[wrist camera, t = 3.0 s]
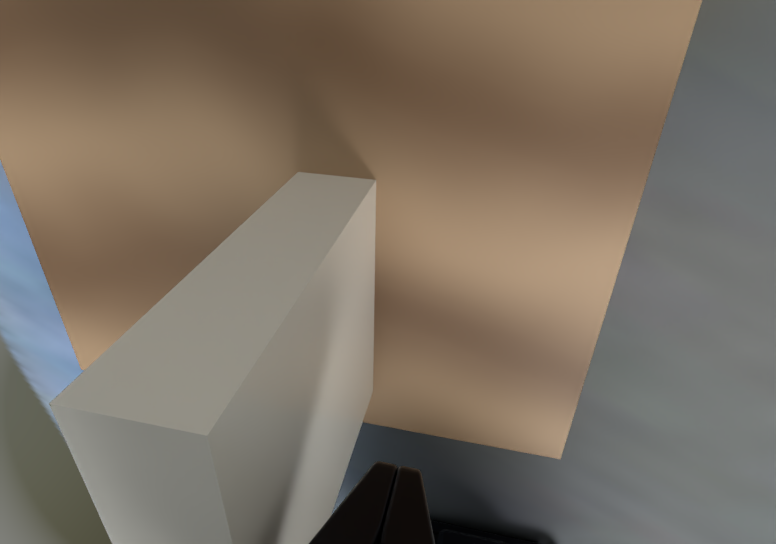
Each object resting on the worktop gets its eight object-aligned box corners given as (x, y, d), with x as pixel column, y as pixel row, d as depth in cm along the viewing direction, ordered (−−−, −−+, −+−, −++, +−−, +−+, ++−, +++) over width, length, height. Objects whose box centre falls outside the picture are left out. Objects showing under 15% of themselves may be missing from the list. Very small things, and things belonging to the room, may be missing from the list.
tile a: (373, 391, 16) (269, 699, 9) (308, 379, 16) (162, 668, 9) (376, 180, 12) (207, 435, 5) (292, 171, 13) (37, 401, 6)
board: (557, 434, 16) (560, 459, 16) (100, 352, 19) (81, 369, 18) (1002, -1077, 5) (1100, -1288, 4) (-282, -733, 8) (-377, -817, 7)
